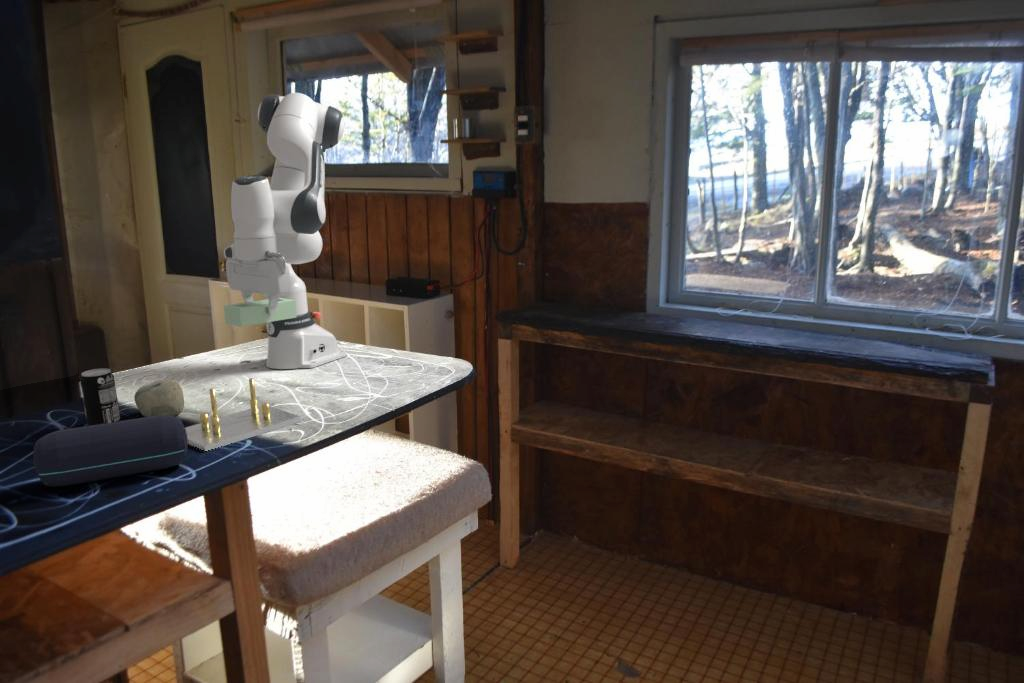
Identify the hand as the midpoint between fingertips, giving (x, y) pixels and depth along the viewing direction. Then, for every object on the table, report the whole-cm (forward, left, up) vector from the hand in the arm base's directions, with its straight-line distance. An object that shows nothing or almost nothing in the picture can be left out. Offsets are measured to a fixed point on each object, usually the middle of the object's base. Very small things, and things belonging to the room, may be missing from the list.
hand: (261, 312), depth 178 cm
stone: (+18, -16, -22) cm, 33 cm away
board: (0, 0, -2) cm, 2 cm away
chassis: (+13, +8, -22) cm, 27 cm away
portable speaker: (+40, +12, -22) cm, 48 cm away
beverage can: (+29, -20, -22) cm, 42 cm away
